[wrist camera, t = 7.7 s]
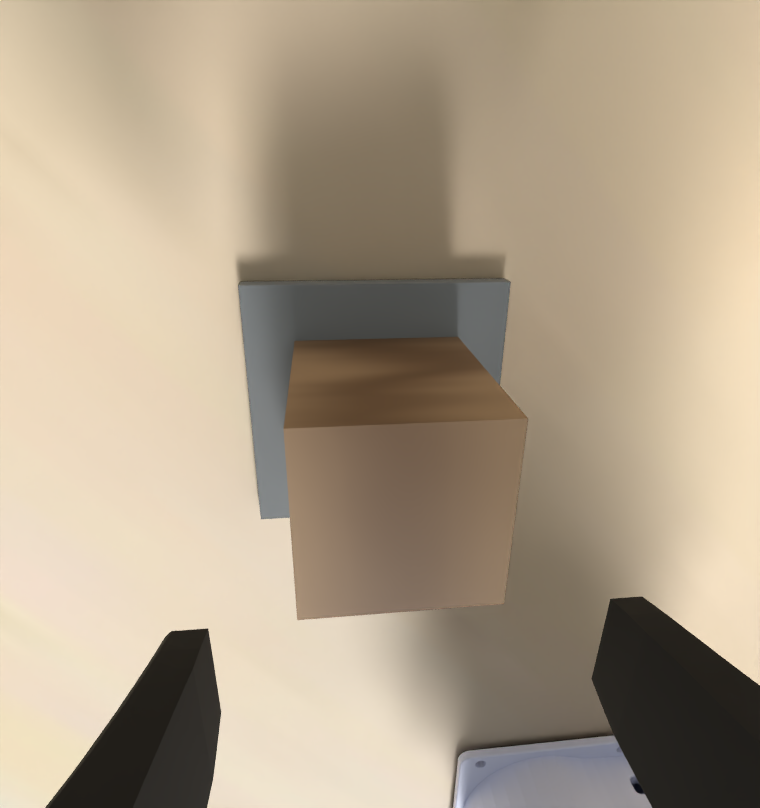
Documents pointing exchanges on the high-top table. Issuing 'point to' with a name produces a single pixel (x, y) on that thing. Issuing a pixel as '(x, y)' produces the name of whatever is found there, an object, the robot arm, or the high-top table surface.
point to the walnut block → (399, 476)
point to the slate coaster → (350, 319)
